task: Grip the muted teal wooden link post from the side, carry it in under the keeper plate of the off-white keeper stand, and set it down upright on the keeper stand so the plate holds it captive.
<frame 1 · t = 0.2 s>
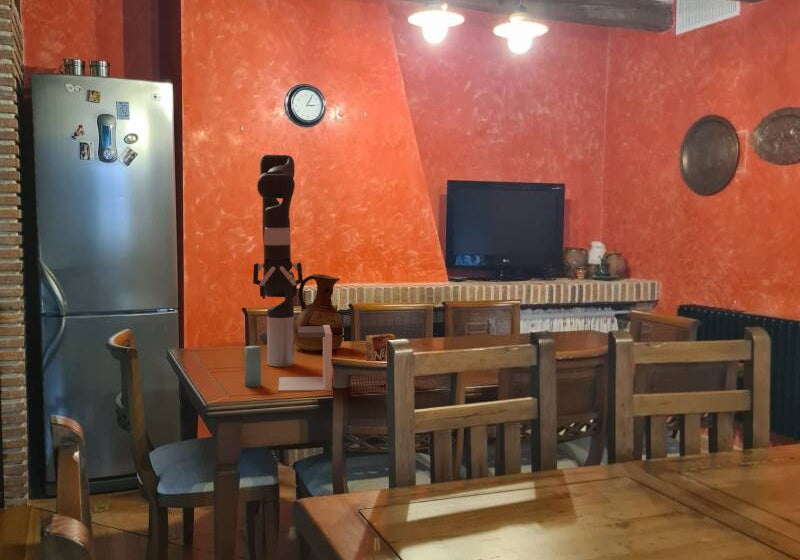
hand: (278, 298, 224), 29 cm above the table, tool pointing down, fingers open, 8 cm apart
ceramic pitcher: (317, 350, 302), on the table
keeper stand: (304, 384, 241), on the table
candy box: (379, 382, 246), on the table
link post: (253, 385, 238), on the table
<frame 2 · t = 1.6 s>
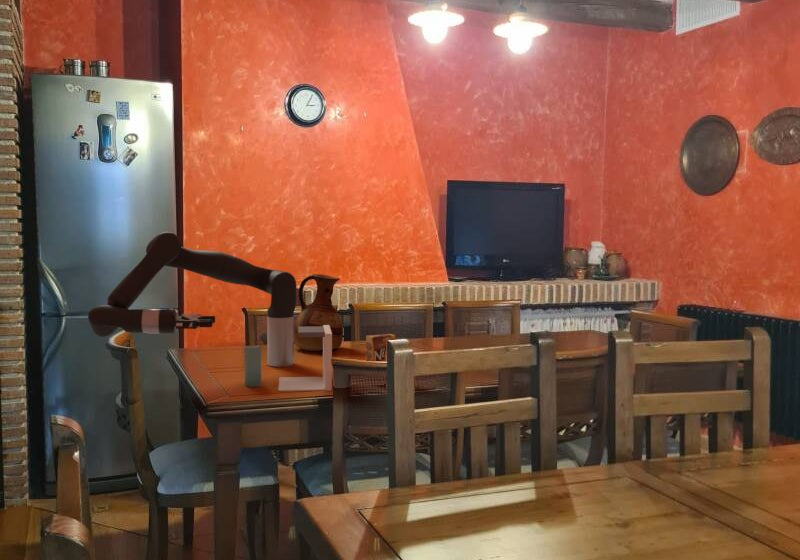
hand: (213, 321, 235), 20 cm above the table, tool horizontal, fingers open, 8 cm apart
nothing on the table moved.
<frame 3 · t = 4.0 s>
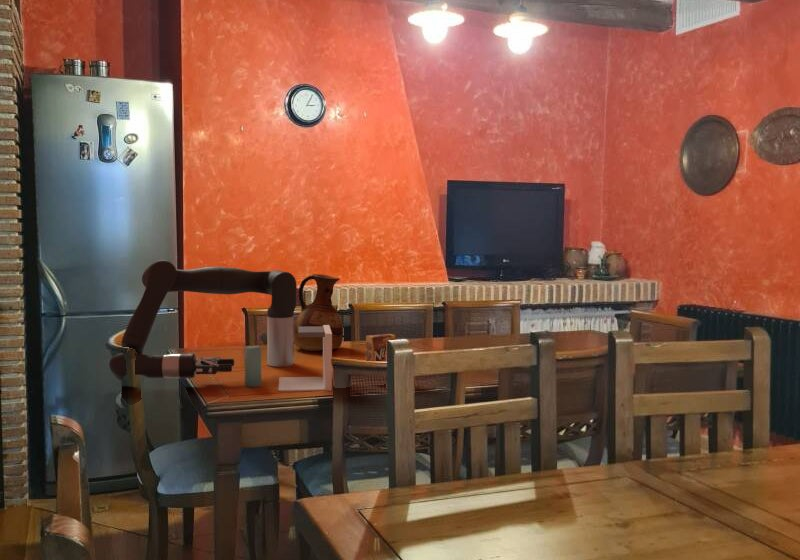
hand: (233, 365, 237), 6 cm above the table, tool horizontal, fingers open, 8 cm apart
nothing on the table moved.
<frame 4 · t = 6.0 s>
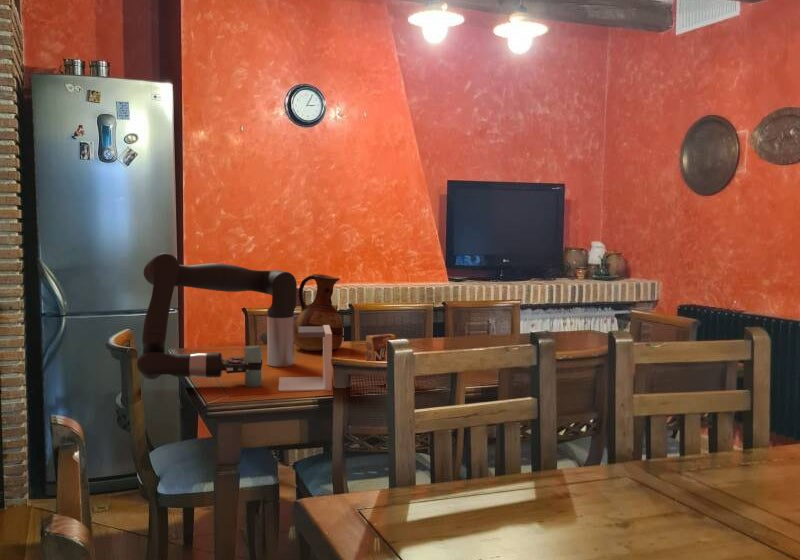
hand: (261, 364, 238), 7 cm above the table, tool horizontal, fingers closed on link post, 5 cm apart
link post: (253, 385, 238), on the table, touching gripper
everything else where it was.
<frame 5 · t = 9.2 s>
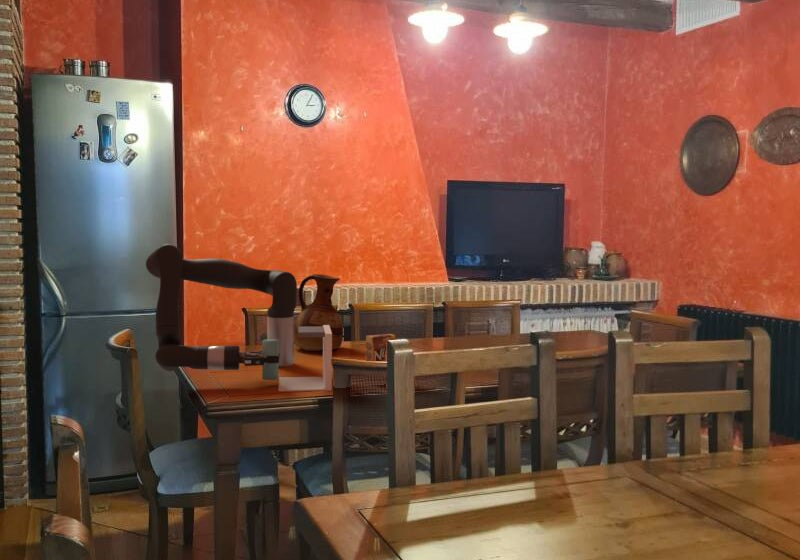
hand: (279, 357, 239), 9 cm above the table, tool horizontal, fingers closed on link post, 5 cm apart
link post: (270, 378, 239), point 2 cm above the table, touching gripper
everything else where it was.
when the fingers open (7 cm above the table, at t = 12.7 s): link post stays where it is, resting on keeper stand.
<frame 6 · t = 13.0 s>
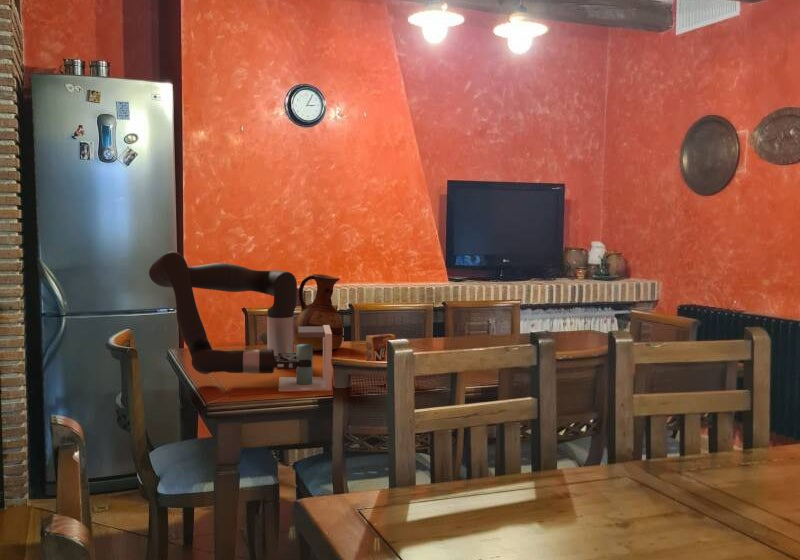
hand: (311, 360, 240), 8 cm above the table, tool horizontal, fingers open, 8 cm apart
link post: (304, 383, 241), resting on keeper stand
everything else where it was.
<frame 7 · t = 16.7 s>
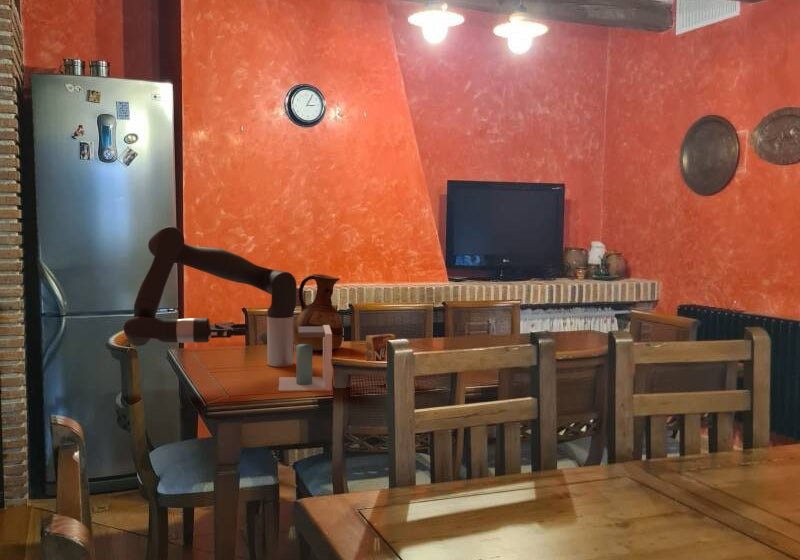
hand: (247, 329, 237), 18 cm above the table, tool horizontal, fingers open, 8 cm apart
nothing on the table moved.
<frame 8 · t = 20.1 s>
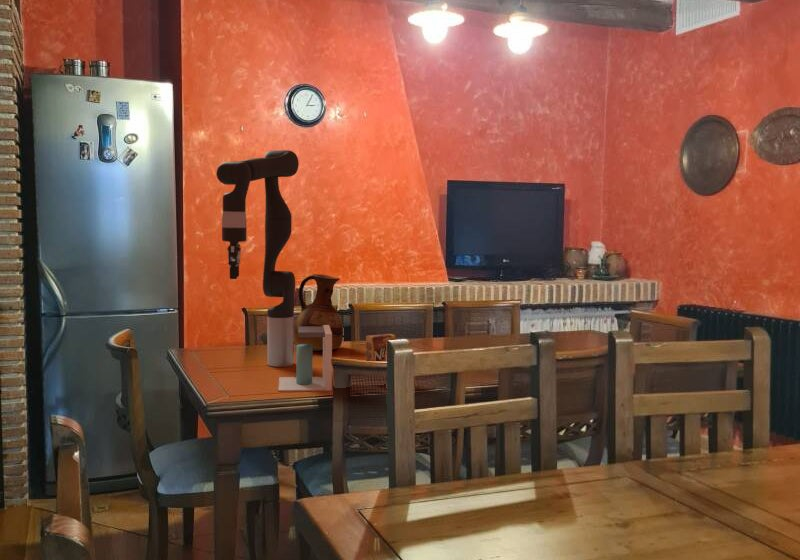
hand: (234, 277, 241), 33 cm above the table, tool pointing down, fingers open, 8 cm apart
nothing on the table moved.
at the end: link post 0.8 cm off-centre on the keeper stand, point 0.4 cm above the keeper stand's base; link post tilted 0°; the gripper is holding nothing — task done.
